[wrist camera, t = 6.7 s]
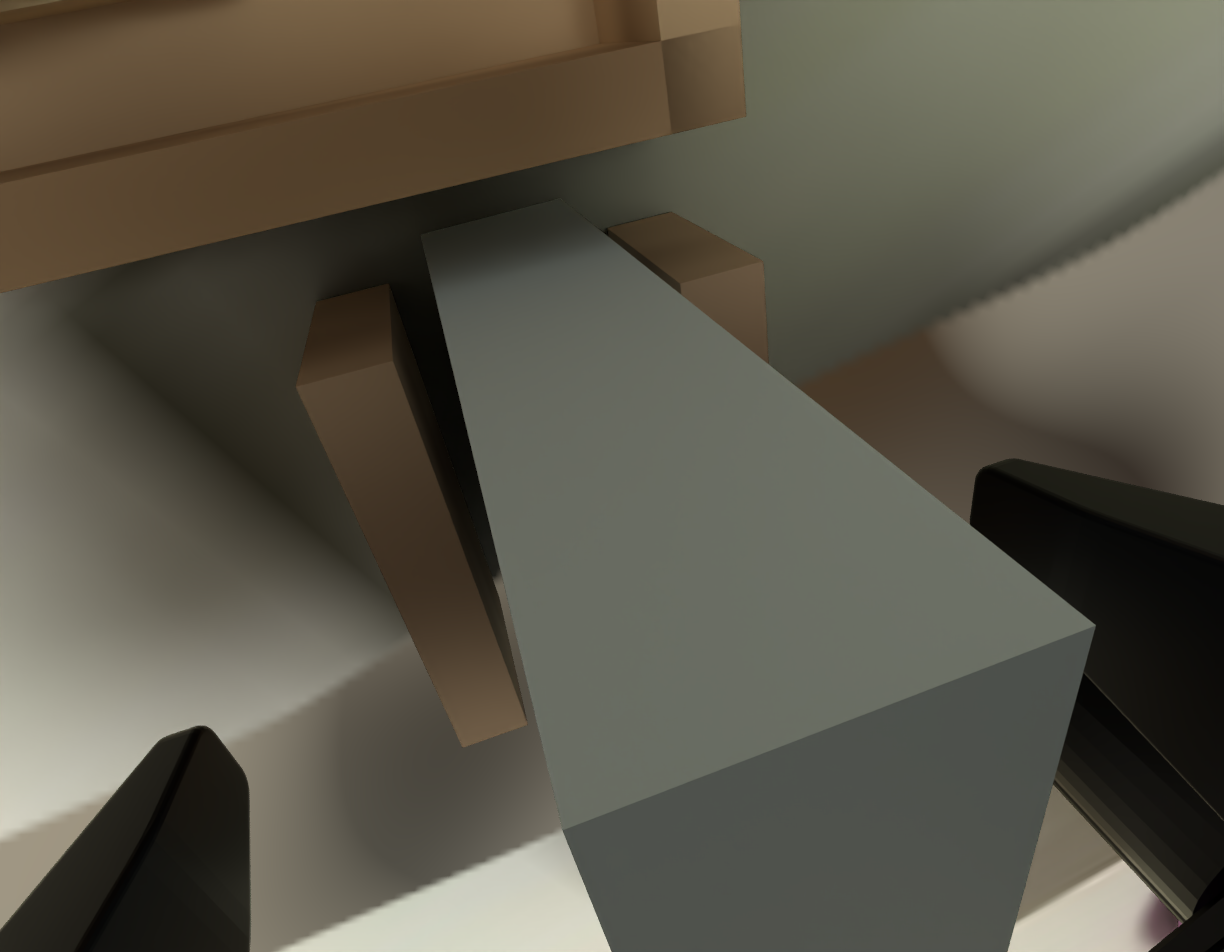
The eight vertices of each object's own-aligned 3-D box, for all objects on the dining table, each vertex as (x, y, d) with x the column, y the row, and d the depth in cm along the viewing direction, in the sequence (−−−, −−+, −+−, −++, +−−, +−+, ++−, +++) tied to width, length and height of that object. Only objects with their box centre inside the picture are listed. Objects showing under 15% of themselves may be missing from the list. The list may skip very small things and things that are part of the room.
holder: (709, 529, 14) (783, 635, 11) (446, 614, 13) (462, 747, 11) (671, 211, 10) (763, 261, 8) (316, 302, 10) (295, 386, 7)
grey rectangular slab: (640, 569, 14) (946, 1172, 6) (541, 603, 14) (742, 1274, 6) (560, 198, 10) (1096, 627, 3) (420, 234, 10) (562, 828, 2)
